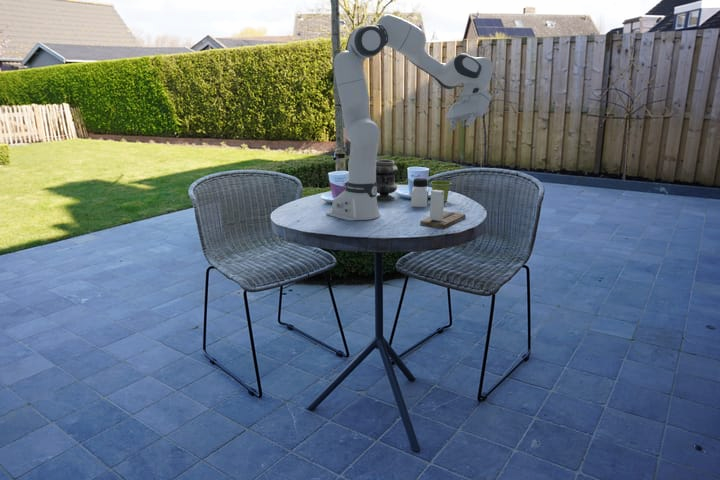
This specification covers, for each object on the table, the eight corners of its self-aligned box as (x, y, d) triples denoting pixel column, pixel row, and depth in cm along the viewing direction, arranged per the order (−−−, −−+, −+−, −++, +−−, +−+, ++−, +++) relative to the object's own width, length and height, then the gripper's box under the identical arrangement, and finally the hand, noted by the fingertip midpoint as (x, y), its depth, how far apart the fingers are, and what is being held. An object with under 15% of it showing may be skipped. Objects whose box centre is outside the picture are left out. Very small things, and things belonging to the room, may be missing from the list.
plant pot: (450, 204, 223) (451, 184, 221) (429, 203, 225) (429, 184, 222) (450, 199, 232) (451, 181, 229) (430, 198, 234) (431, 180, 231)
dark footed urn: (397, 201, 228) (397, 162, 222) (370, 201, 229) (370, 162, 223) (397, 196, 239) (397, 158, 234) (372, 196, 240) (372, 158, 235)
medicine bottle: (427, 207, 217) (428, 180, 214) (411, 206, 219) (411, 179, 215) (428, 203, 224) (428, 177, 221) (412, 203, 225) (412, 176, 222)
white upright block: (429, 219, 190) (430, 190, 186) (433, 217, 192) (434, 189, 189) (439, 220, 187) (440, 192, 184) (443, 219, 190) (444, 190, 186)
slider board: (420, 224, 190) (420, 220, 190) (442, 214, 205) (442, 210, 205) (444, 228, 185) (444, 224, 184) (465, 217, 200) (465, 213, 199)
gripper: (449, 98, 203) (437, 127, 201) (484, 87, 185) (471, 119, 183) (460, 106, 206) (448, 135, 204) (495, 96, 188) (483, 128, 186)
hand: (459, 127), depth 193 cm, fingers open, 8 cm apart
